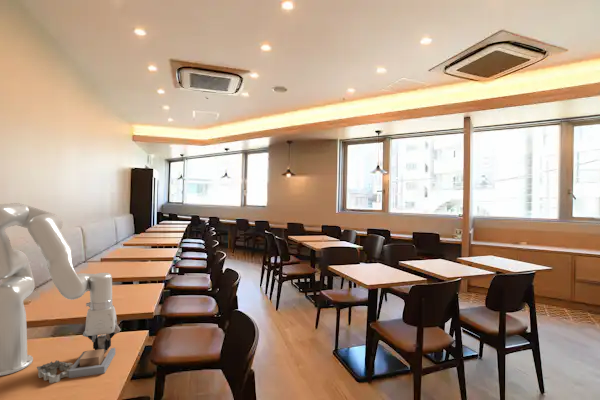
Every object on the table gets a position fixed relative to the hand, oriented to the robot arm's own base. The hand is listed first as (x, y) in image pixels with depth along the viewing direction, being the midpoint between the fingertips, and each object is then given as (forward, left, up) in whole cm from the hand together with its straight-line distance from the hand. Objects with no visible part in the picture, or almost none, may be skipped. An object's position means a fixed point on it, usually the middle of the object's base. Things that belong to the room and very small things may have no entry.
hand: (102, 348), depth 127 cm
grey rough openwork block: (-11, -13, -2) cm, 17 cm away
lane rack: (0, -9, -1) cm, 9 cm away
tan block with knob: (0, -6, -1) cm, 6 cm away
